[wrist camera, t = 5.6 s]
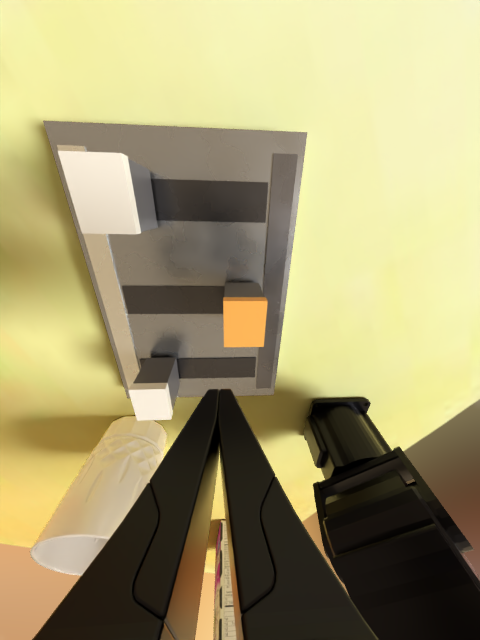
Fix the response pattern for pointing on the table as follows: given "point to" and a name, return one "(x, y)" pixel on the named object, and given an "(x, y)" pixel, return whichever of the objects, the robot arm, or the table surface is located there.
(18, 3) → the table surface
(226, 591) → the candy bar box
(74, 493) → the white cup
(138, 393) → the block
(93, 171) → the block
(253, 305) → the block
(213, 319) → the panel
